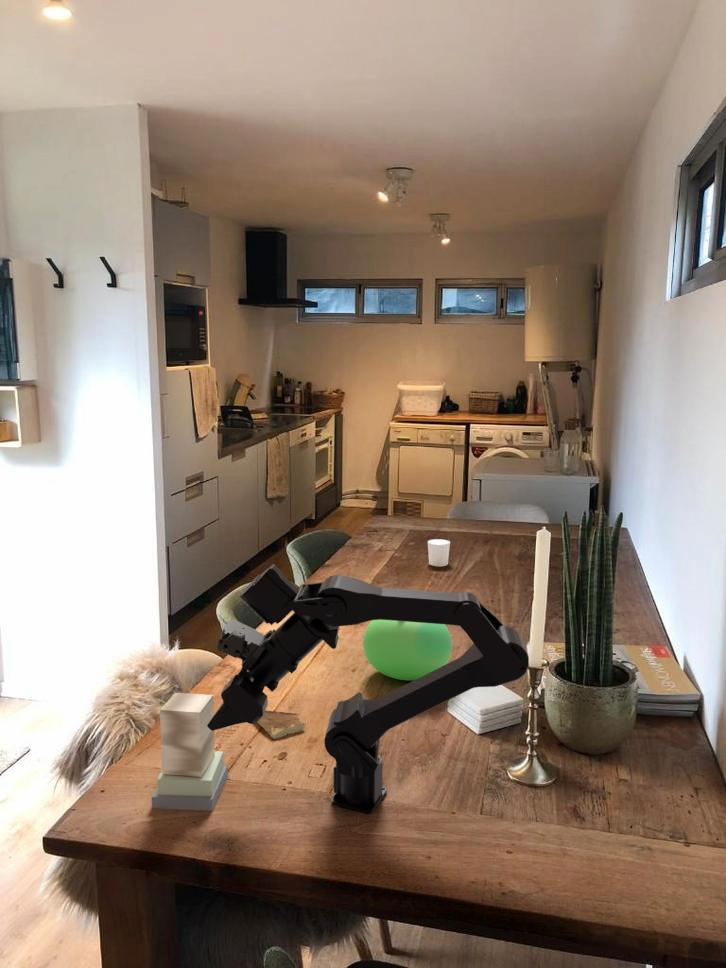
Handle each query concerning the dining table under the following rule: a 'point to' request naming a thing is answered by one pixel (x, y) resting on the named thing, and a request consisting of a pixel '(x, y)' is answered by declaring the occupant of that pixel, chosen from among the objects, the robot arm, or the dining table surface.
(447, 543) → the white short cylinder
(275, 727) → the shard
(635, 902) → the dining table surface
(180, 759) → the maple column
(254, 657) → the robot arm
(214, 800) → the tower bottom slab
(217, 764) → the tower top slab
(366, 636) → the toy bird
